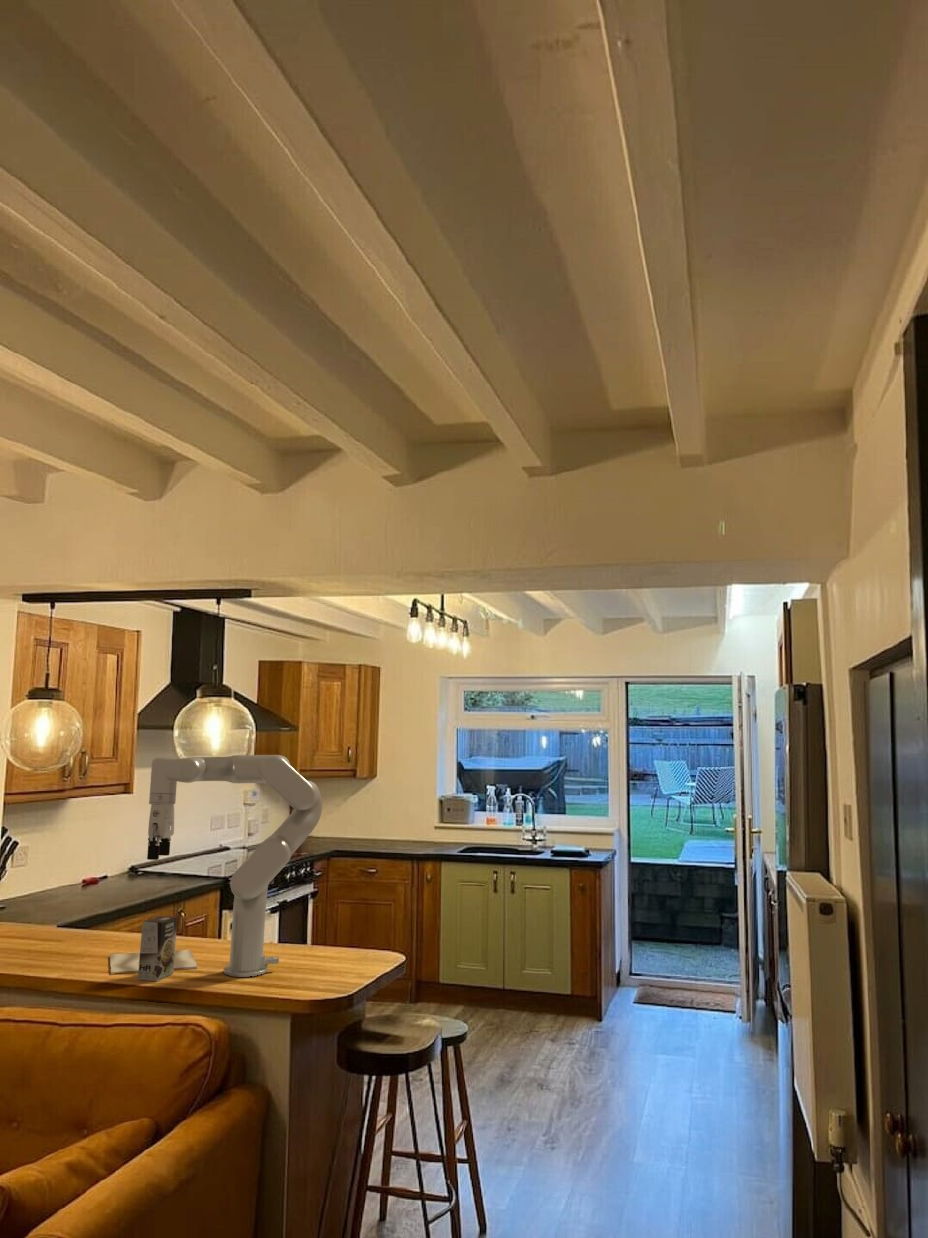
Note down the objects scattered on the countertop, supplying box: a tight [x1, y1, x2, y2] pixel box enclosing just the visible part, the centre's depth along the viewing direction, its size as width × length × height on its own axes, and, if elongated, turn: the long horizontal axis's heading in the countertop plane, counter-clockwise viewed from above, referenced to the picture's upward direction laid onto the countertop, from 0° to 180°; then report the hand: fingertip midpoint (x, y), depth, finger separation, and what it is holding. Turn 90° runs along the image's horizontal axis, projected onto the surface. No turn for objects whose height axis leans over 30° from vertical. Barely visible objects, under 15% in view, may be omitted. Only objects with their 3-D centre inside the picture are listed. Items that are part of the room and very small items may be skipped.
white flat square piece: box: [109, 949, 198, 974], centre depth 265 cm, size 24×22×1 cm
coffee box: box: [137, 915, 178, 982], centre depth 251 cm, size 9×6×16 cm
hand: (158, 857), depth 259 cm, fingers open, 9 cm apart
